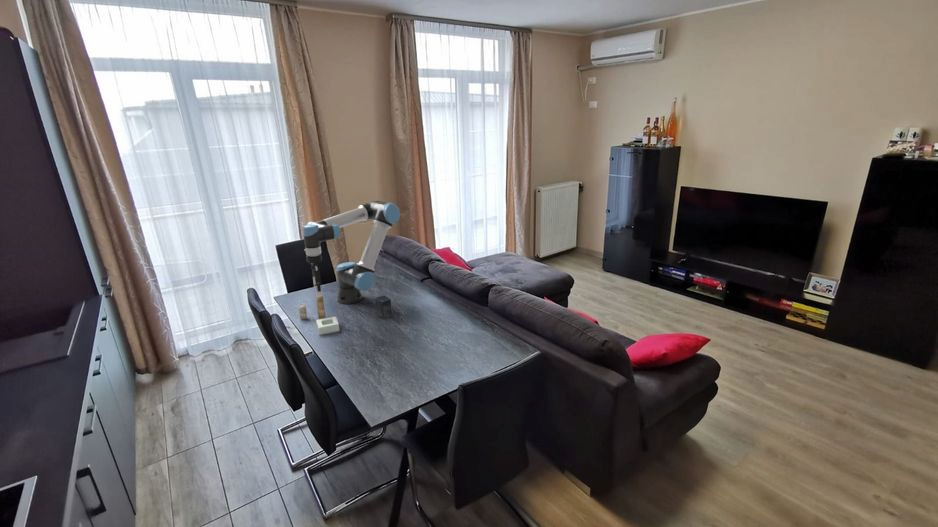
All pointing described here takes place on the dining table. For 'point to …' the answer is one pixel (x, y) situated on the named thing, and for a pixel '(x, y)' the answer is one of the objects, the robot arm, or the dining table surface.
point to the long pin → (320, 307)
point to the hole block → (327, 325)
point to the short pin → (302, 312)
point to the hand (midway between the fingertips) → (318, 292)
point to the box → (383, 307)
